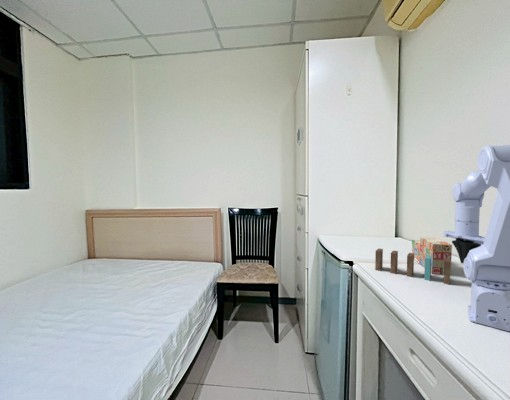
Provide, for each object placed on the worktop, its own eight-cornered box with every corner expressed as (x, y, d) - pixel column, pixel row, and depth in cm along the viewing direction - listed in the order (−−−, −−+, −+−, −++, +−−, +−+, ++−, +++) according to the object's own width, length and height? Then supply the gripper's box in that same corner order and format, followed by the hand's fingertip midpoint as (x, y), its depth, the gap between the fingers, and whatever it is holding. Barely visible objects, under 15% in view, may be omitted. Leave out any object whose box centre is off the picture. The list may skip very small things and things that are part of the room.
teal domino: (430, 276, 89) (431, 255, 88) (429, 280, 85) (430, 258, 85) (425, 275, 90) (426, 255, 90) (424, 279, 86) (424, 258, 86)
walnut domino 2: (397, 270, 96) (397, 251, 96) (395, 273, 92) (395, 253, 92) (392, 269, 97) (393, 250, 97) (390, 272, 93) (390, 253, 93)
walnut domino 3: (413, 273, 92) (413, 253, 92) (411, 277, 89) (412, 256, 88) (408, 272, 93) (409, 252, 93) (406, 276, 90) (407, 255, 89)
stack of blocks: (411, 258, 112) (412, 233, 111) (426, 259, 110) (427, 233, 110) (432, 274, 91) (433, 243, 91) (451, 276, 90) (452, 244, 89)
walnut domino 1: (382, 267, 100) (382, 248, 99) (379, 270, 96) (379, 251, 95) (378, 266, 101) (378, 248, 100) (375, 269, 97) (375, 250, 96)
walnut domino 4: (449, 280, 85) (450, 258, 85) (449, 284, 81) (450, 261, 81) (444, 279, 86) (444, 257, 86) (443, 283, 83) (444, 261, 82)
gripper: (435, 218, 82) (434, 257, 82) (478, 224, 67) (477, 271, 68) (454, 218, 82) (453, 256, 83) (501, 224, 68) (499, 270, 68)
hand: (465, 263), depth 75 cm, fingers closed
